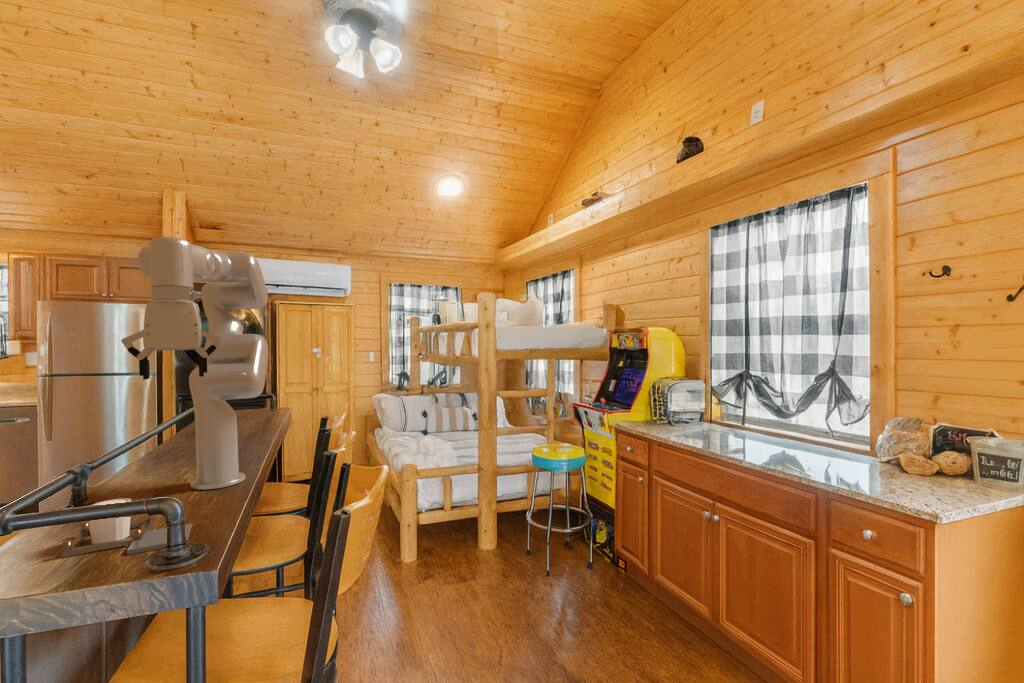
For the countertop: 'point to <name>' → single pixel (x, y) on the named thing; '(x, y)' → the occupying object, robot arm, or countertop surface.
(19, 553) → the countertop surface
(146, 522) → the brown square frame
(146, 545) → the coaster
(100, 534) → the shot glass
